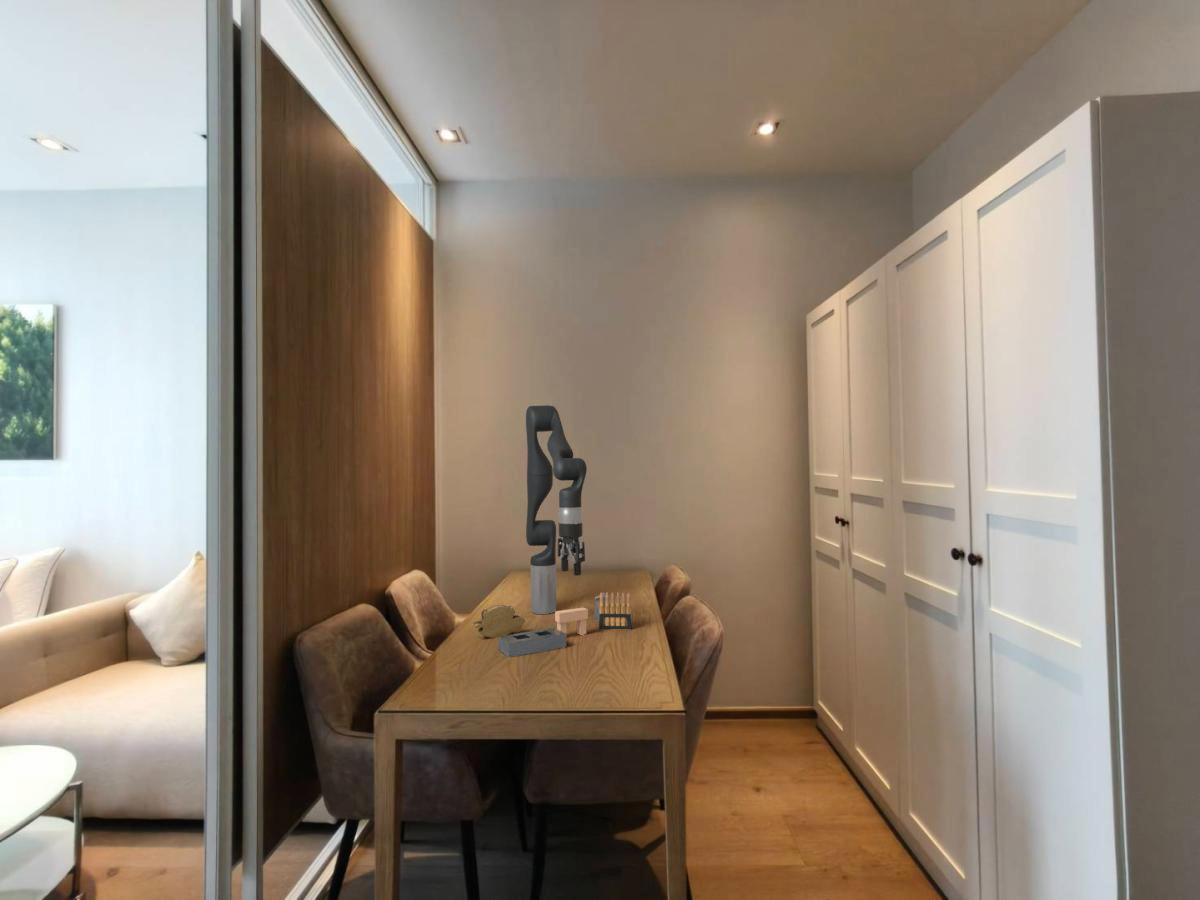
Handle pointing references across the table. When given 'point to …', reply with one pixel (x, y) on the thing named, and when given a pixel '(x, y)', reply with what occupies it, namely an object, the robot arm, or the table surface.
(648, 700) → the table surface
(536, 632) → the grey socket block
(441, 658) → the table surface
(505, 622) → the wooden carving
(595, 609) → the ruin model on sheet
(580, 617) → the prong clip
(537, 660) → the table surface
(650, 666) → the table surface
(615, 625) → the ammunition clip
